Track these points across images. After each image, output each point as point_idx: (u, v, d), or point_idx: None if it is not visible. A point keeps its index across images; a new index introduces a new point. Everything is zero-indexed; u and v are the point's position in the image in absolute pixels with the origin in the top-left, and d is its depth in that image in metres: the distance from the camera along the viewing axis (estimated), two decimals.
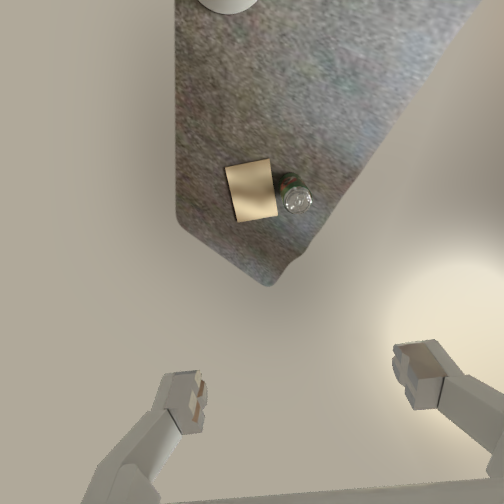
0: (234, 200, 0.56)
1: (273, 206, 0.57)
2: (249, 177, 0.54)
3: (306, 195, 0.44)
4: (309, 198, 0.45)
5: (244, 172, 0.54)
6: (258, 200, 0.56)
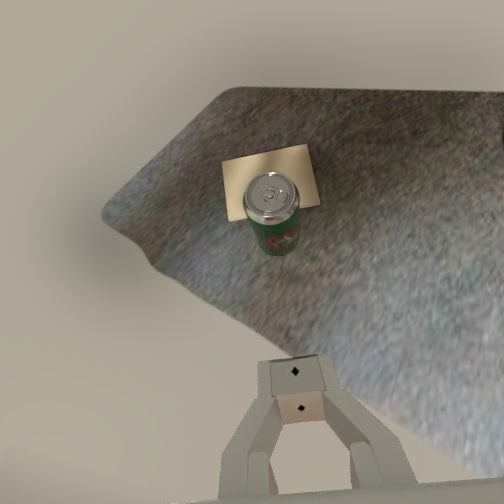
0: (257, 156, 0.37)
1: (243, 212, 0.35)
2: (291, 175, 0.35)
3: (282, 207, 0.22)
4: (276, 214, 0.22)
5: (299, 169, 0.35)
6: None
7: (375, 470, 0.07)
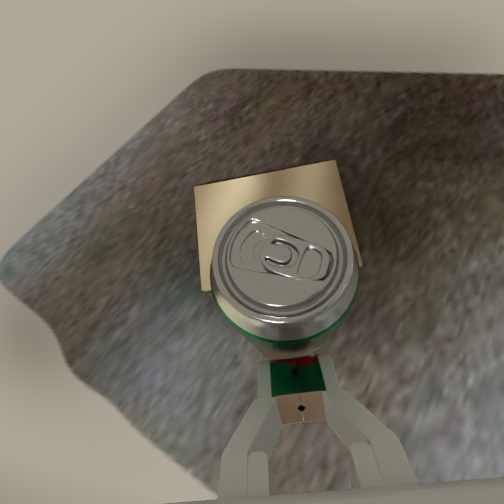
0: (252, 180, 0.22)
1: None
2: None
3: (318, 294, 0.07)
4: (299, 313, 0.07)
5: (324, 203, 0.21)
6: None
7: (375, 470, 0.07)
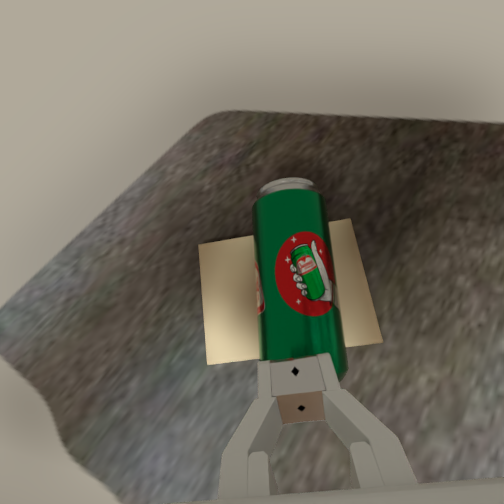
0: None
1: (234, 350, 0.19)
2: None
3: None
4: None
5: (339, 268, 0.19)
6: None
7: (375, 470, 0.07)
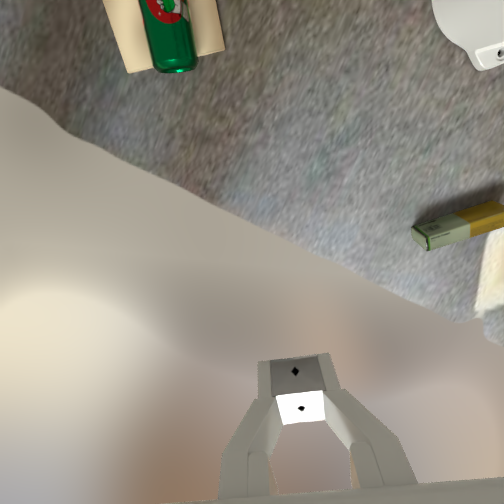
0: None
1: (141, 61, 0.31)
2: (189, 3, 0.29)
3: None
4: None
5: None
6: None
7: (375, 470, 0.07)
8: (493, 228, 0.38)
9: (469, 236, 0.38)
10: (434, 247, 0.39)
